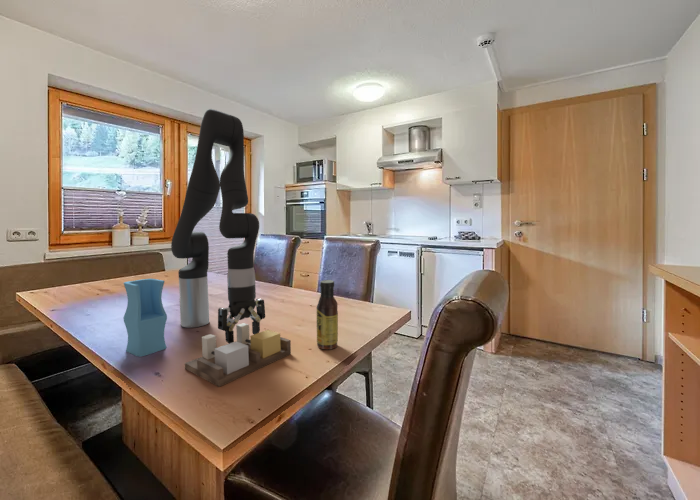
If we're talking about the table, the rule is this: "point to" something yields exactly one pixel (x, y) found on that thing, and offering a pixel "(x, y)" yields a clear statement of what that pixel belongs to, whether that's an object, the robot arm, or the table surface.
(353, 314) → the table surface
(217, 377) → the lane rack
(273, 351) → the ochre block
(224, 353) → the white block with handle
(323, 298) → the sauce bottle
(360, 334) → the table surface
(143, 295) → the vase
